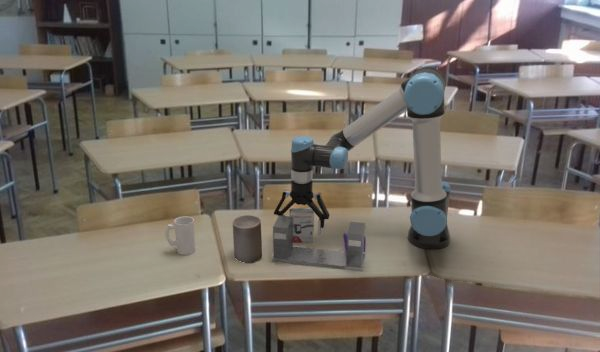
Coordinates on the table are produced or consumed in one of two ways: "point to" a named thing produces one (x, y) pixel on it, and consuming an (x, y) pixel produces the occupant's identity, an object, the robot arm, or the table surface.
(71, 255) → the table surface
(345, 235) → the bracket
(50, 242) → the table surface
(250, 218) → the pillar candle
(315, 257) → the rail
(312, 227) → the ink box
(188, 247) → the mug
